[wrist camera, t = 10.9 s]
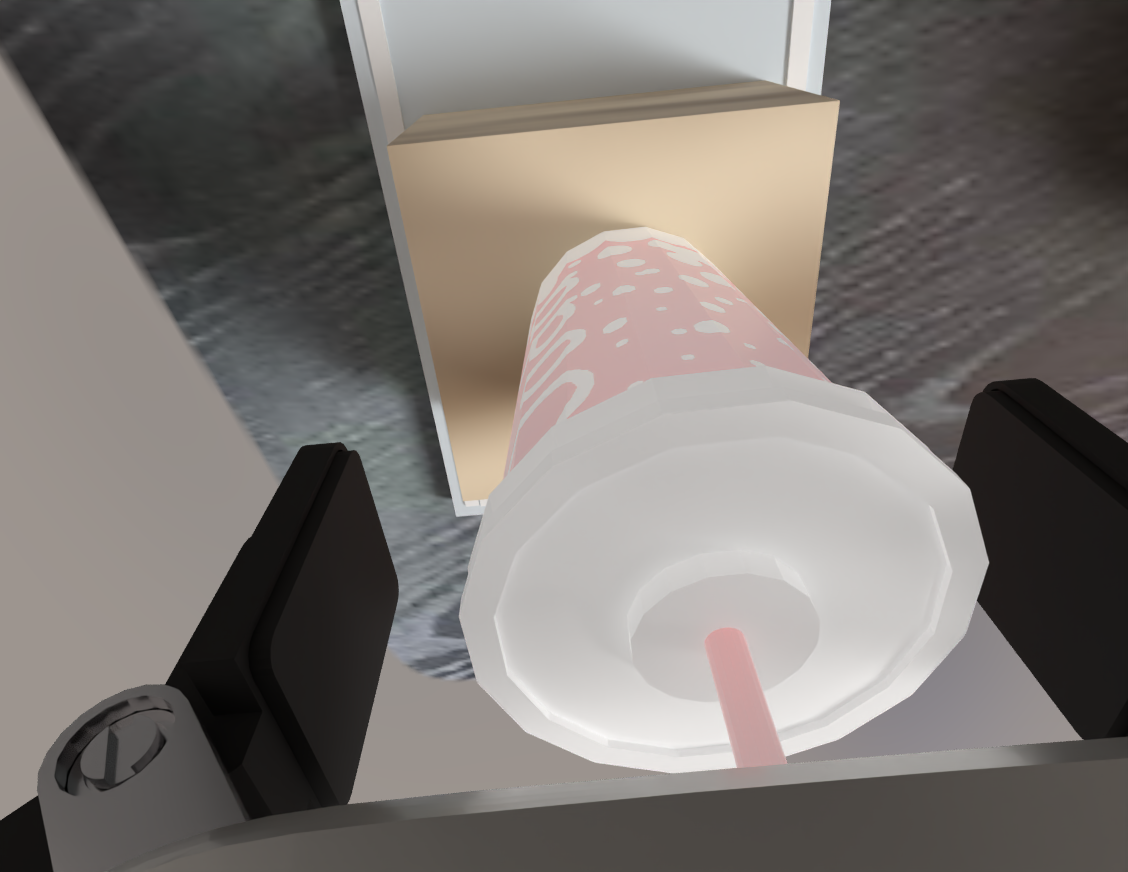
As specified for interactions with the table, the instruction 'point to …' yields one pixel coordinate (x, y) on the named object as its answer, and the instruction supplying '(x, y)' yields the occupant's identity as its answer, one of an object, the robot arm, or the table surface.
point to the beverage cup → (704, 529)
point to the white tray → (556, 76)
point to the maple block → (599, 220)
